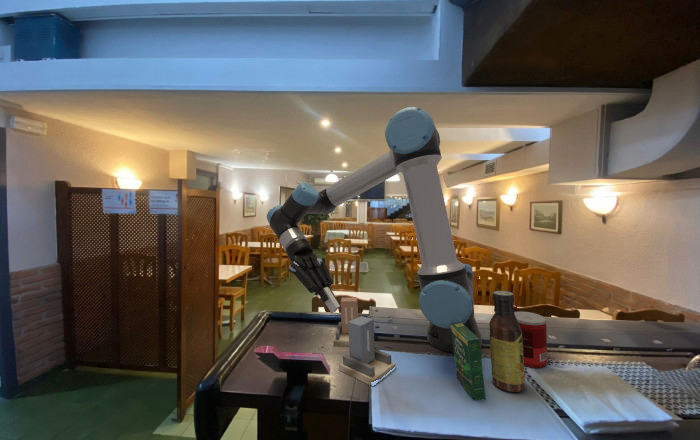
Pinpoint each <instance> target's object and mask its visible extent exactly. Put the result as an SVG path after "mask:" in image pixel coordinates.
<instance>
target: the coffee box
mask: <svg viewBox="0 0 700 440" xmlns="http://www.w3.org/2000/svg"><path fill="white" fill-rule="evenodd" d="M451 333H452V341H453V349H454V352H453V356H454V364H455V372H456V379H457V380H458V382H459V383H460V385H461V386H462V388H463V389H464V391H465V392H466V394H467V395H468V396H469V397H470V399H471V400H472V401H474V402H475V401H484V400H486V391H485V390H486V389H485V381H484V371H483V362H482V361H483V360H482V351H481V348H480V339H479V338H478V337H477V336H476V335H475V334H473V333H472V332H471V331H470V330H469V329H468V328H467V327H466V326H464V325H463V324H462V323H454V324H451Z"/></svg>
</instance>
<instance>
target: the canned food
mask: <svg viewBox="0 0 700 440" xmlns="http://www.w3.org/2000/svg"><path fill="white" fill-rule="evenodd" d="M514 314H515V316H516V318H517V321H518V323H519V326H520V328H521V330H522V342H523V359H524V367H527V368H532V369H539V368H540V369H541V368H544V367H546V366H547V365H548V364H547V363H548V348H547V347H548V345H547V344H548V341H547V340H548V339H547V320H546V317H544V316H543V315H540V314H539V313H535V312H529V311H514Z"/></svg>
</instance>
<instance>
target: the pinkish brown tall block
mask: <svg viewBox="0 0 700 440" xmlns="http://www.w3.org/2000/svg"><path fill="white" fill-rule="evenodd" d="M358 308H359V307H358V297H357V296H355V297H353V296H352V297H348V296H347V297H341V299H340V316H341V317H340V318H341V319H340V320H341V321H340V322H341V324H342V333H349V330H348V322H349V321H351V320H354V319H356V318H358V317H359V312H358V311H359V309H358Z"/></svg>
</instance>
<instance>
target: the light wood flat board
mask: <svg viewBox="0 0 700 440" xmlns="http://www.w3.org/2000/svg"><path fill="white" fill-rule="evenodd" d="M334 335H335V336H334V338H333V347H349V333H342V324H341V321H338V324H337V328H336V331H335V334H334ZM374 349H375V359H374V360H373V361H371V362H370V363H368V364H366V363H364V362H362V361H359V360H357V359H355V358H352V357H350V355H347V354H344V355H342V362H341V363H338V370H339V371H340V372H342V373H344V374H345V375H348V376H350V377H352V378H354V379H356V380H358V381H360V382H363V383H364V384H366V385H369V386H370V384H371V382H374V381H376V380H379V379H381V378H382V377H383V376H384V375H386V374H387V373H388V372H389V371H390V370H392V369H393V368H394V367H395V366H397V365H396V362H393V361H392V355H391V354H389V353H387V352H384V351H381V350H379V349H376V348H374Z"/></svg>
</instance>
